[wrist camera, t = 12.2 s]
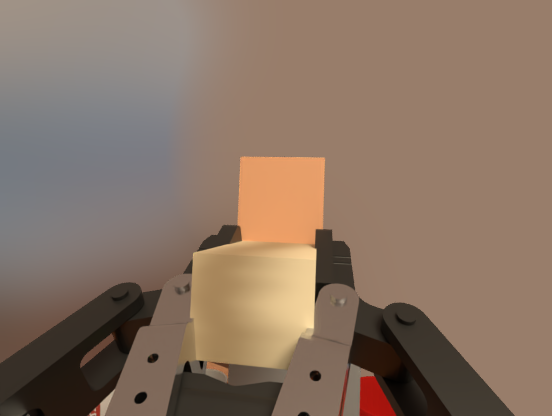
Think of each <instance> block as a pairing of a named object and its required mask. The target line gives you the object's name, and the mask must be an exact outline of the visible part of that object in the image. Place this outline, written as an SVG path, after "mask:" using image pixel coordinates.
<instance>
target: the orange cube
mask: <svg viewBox="0 0 552 416" xmlns="http://www.w3.org/2000/svg"><path fill="white" fill-rule="evenodd" d="M324 170H325V158H305V157H241V161H240V184H239V208H238V226H240V228H241V235H242V241H261V242H281V243H301V244H315V232H316V229H323V203H324V173H325V171H324Z"/></svg>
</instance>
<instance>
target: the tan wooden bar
mask: <svg viewBox="0 0 552 416" xmlns="http://www.w3.org/2000/svg"><path fill="white" fill-rule="evenodd" d="M315 277H316V249H315V244H301V243H281V242H261V241H240V242H236V243H232V244H227V245H223V246H219V247H215V248H211V249H207V250H203V251H199V252H195V253H193V267H192V288H191V308H190V318H194V330H195V348H196V360H200V361H210V362H219V363H229V364H238V365H248V366H257V367H266V368H276V369H285V370H288V368H289V365H290V362H291V359H292V356H293V354H294V351H295V348H296V345H297V342H298V340H299V337H300V335H301V333H302V332H304V333H305V332H306V330H307V328H314V306H315Z"/></svg>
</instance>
